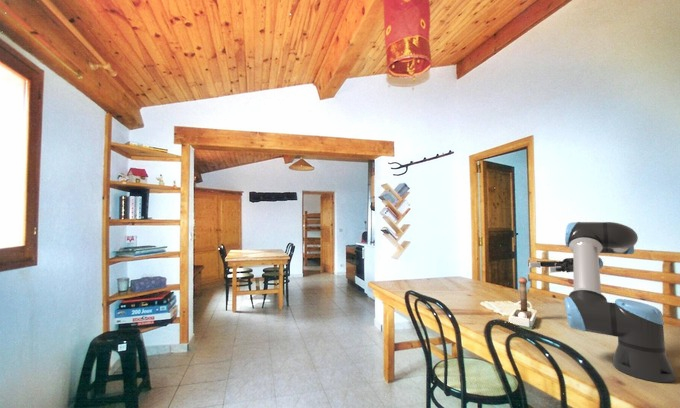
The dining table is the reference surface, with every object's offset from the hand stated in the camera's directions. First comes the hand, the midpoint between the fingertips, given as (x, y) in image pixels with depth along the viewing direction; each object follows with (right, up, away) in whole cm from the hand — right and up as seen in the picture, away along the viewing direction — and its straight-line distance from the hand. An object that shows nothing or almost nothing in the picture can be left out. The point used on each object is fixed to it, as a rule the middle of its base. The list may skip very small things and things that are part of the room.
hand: (539, 267), depth 164 cm
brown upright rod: (-9, -26, -2) cm, 28 cm away
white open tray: (-13, -27, -7) cm, 31 cm away
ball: (-13, -24, -7) cm, 28 cm away
